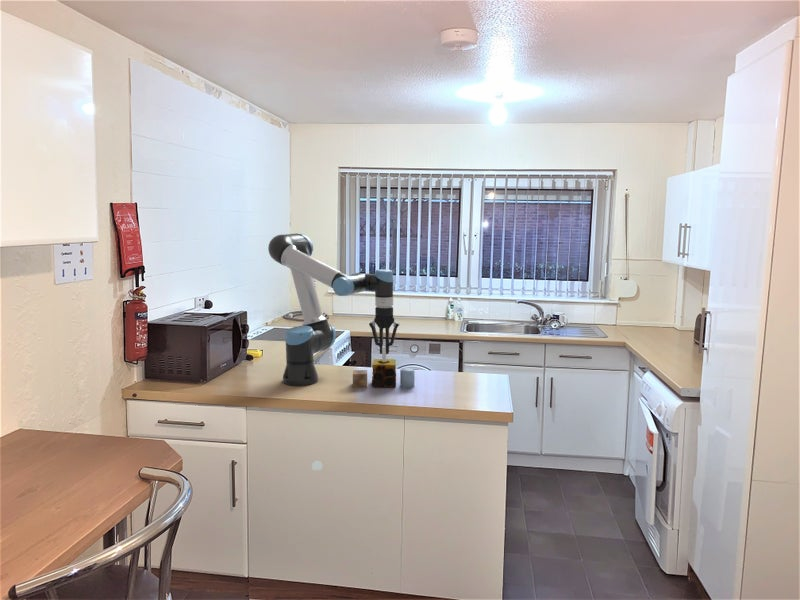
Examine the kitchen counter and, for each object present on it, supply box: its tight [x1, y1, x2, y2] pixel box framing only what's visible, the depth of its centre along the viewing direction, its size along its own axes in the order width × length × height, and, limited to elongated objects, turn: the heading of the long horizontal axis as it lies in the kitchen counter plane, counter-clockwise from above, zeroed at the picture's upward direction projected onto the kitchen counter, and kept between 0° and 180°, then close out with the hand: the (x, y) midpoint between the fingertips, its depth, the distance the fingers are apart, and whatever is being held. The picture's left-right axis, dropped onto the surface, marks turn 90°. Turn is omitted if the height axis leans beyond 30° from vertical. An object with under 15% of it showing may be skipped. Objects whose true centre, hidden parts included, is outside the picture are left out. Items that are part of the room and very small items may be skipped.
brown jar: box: [352, 369, 368, 389], centre depth 253 cm, size 6×6×6 cm
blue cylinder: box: [399, 367, 416, 389], centre depth 253 cm, size 6×6×7 cm
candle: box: [371, 358, 397, 389], centre depth 255 cm, size 10×10×10 cm
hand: (384, 361), depth 254 cm, fingers closed
